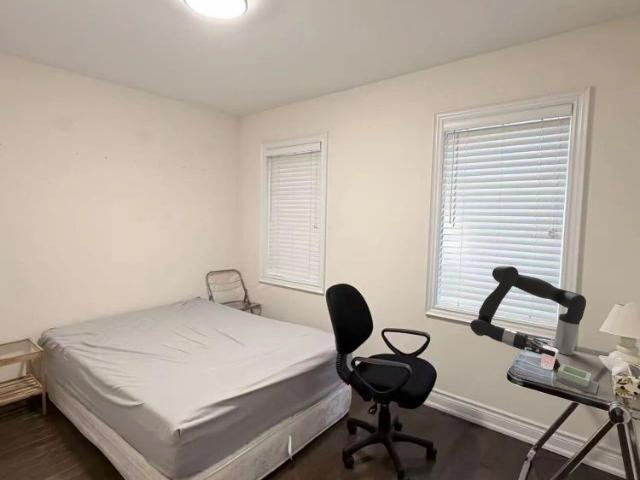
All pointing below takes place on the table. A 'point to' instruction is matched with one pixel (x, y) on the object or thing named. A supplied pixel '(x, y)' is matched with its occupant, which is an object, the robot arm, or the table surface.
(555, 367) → the bolt
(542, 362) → the beverage cup
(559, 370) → the pale green square tray
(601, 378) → the table surface
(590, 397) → the table surface
